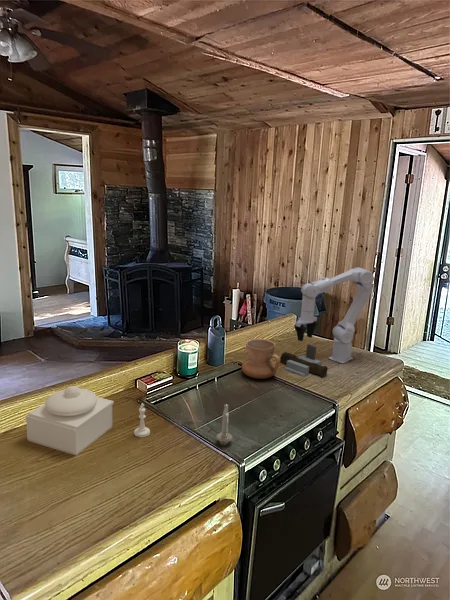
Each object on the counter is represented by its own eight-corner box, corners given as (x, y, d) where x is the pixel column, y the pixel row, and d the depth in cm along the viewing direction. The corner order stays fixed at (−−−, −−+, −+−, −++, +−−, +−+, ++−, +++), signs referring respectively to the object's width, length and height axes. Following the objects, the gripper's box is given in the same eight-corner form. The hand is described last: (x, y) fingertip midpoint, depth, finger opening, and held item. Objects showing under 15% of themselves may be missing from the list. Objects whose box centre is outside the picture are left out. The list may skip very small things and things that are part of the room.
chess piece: (152, 430, 138) (153, 401, 135) (145, 438, 133) (145, 408, 131) (139, 427, 139) (139, 398, 137) (130, 435, 135) (130, 405, 132)
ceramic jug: (232, 373, 184) (233, 341, 181) (252, 364, 195) (254, 334, 191) (267, 387, 173) (269, 353, 170) (286, 377, 184) (289, 345, 180)
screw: (215, 438, 135) (230, 438, 136) (217, 447, 130) (233, 446, 131) (217, 400, 132) (232, 399, 133) (219, 408, 127) (235, 407, 128)
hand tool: (327, 375, 188) (329, 363, 187) (322, 378, 184) (323, 366, 183) (284, 360, 203) (285, 349, 201) (278, 363, 199) (279, 351, 198)
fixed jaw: (289, 366, 195) (290, 359, 194) (309, 373, 188) (309, 366, 187) (284, 369, 192) (284, 361, 191) (303, 376, 185) (304, 368, 184)
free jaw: (301, 361, 201) (303, 342, 199) (320, 368, 195) (322, 348, 192) (296, 364, 198) (298, 344, 196) (315, 370, 192) (317, 350, 189)
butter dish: (27, 441, 129) (24, 391, 125) (69, 414, 145) (67, 369, 142) (76, 456, 123) (74, 404, 119) (114, 426, 140) (113, 380, 136)
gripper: (308, 305, 206) (306, 333, 209) (291, 310, 195) (288, 339, 199) (322, 309, 201) (319, 337, 204) (304, 314, 191) (301, 343, 194)
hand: (304, 338), depth 201 cm, fingers open, 7 cm apart
